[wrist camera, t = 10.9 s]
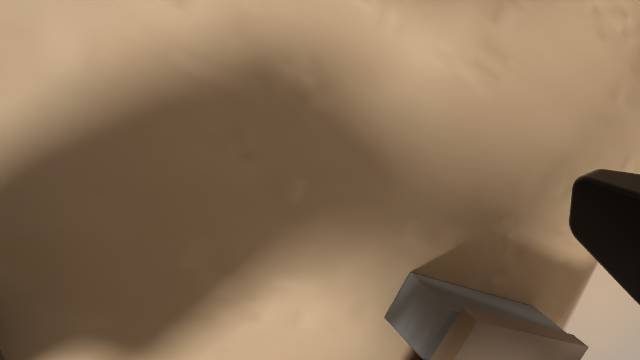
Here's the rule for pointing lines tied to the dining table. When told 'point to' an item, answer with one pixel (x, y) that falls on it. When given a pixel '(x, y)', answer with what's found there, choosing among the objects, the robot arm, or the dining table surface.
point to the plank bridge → (475, 325)
